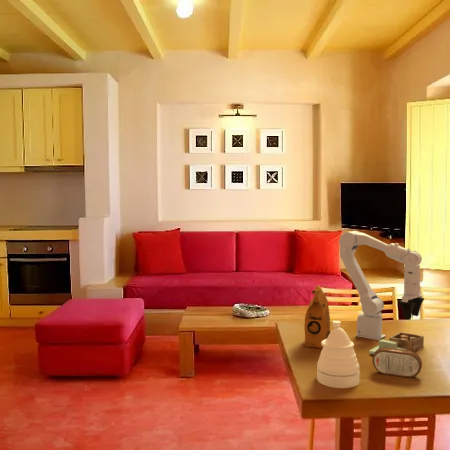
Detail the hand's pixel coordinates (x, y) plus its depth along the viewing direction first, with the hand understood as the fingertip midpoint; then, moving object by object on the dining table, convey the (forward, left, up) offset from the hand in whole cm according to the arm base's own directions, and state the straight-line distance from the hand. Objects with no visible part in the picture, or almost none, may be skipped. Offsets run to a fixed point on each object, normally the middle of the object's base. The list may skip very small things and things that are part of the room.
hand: (411, 317), depth 195 cm
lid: (-1, -19, -9) cm, 21 cm away
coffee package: (-27, -25, -10) cm, 38 cm away
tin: (+10, -38, -10) cm, 41 cm away
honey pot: (-2, -54, -10) cm, 55 cm away
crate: (+1, -7, -10) cm, 12 cm away
